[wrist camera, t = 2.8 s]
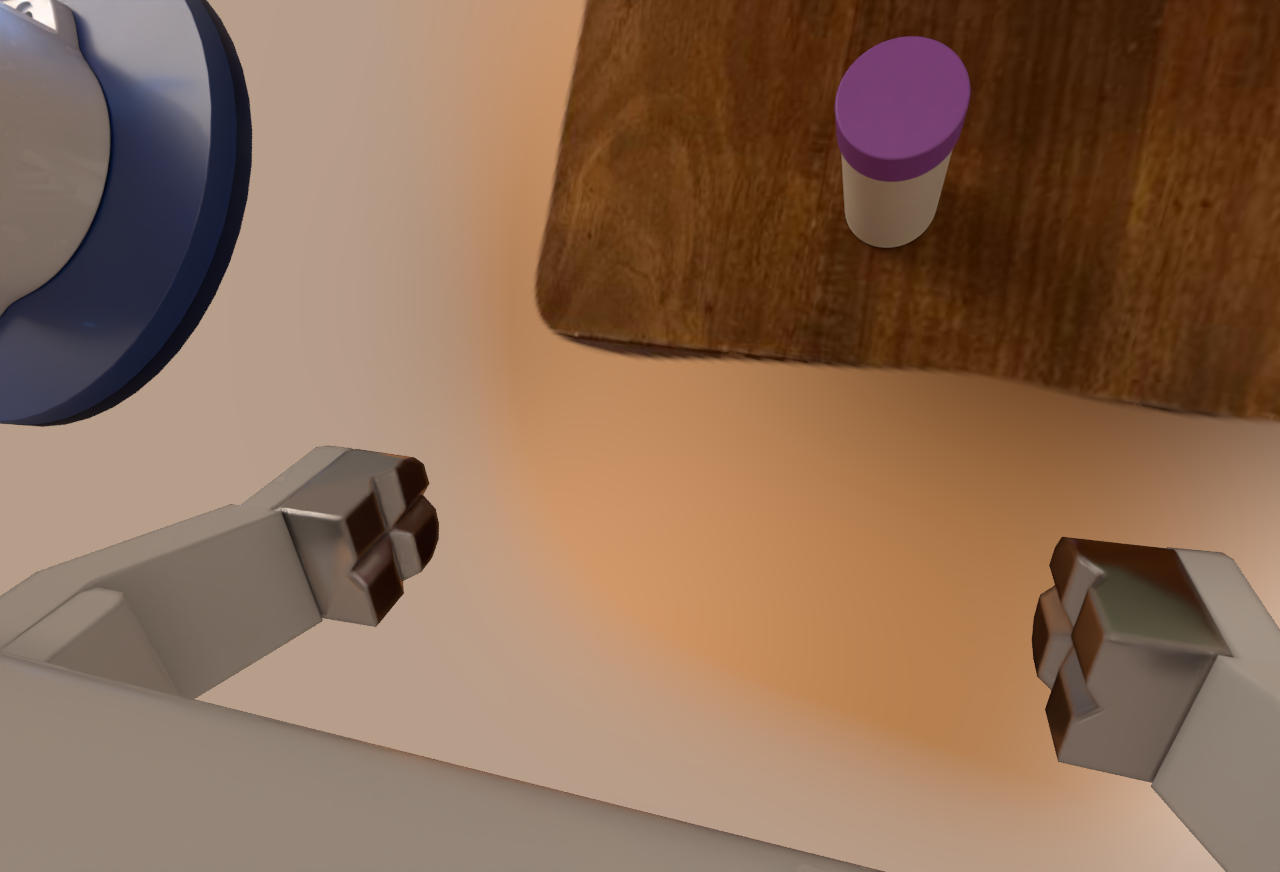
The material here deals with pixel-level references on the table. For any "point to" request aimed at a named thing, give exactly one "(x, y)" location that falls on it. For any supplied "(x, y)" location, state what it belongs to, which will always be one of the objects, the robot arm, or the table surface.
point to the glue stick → (898, 136)
